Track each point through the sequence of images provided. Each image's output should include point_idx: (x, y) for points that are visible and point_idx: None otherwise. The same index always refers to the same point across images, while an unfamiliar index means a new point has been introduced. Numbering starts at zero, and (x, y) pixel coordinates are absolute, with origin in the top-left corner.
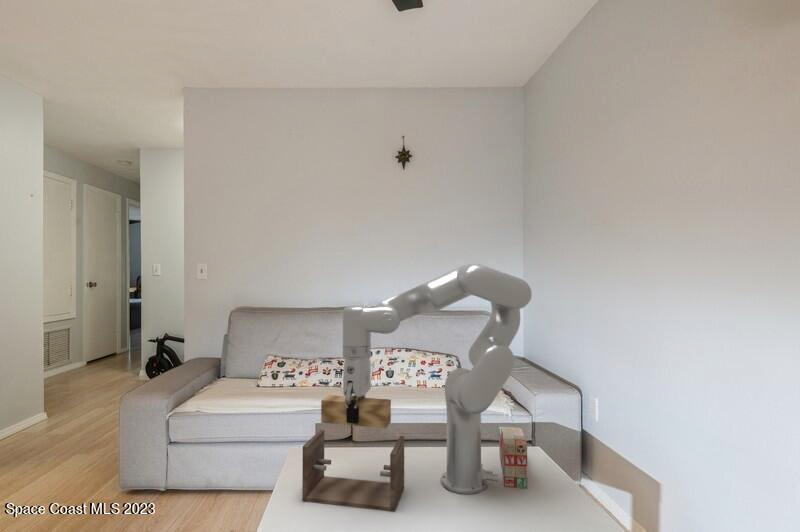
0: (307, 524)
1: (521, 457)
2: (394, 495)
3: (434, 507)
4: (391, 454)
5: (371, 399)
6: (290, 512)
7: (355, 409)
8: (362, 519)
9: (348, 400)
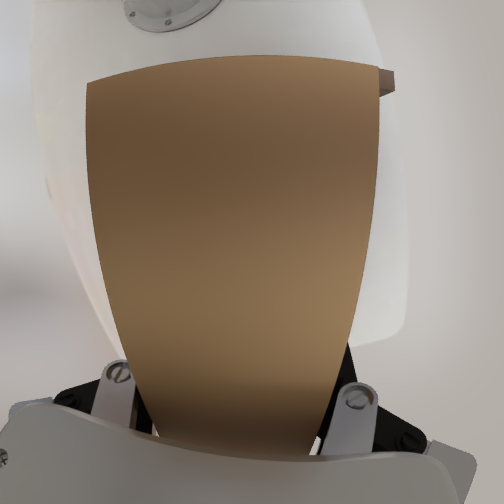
0: (405, 274)
1: None
2: None
3: (301, 22)
4: (393, 85)
5: (158, 331)
6: (368, 316)
7: (338, 385)
8: (384, 170)
9: (468, 459)
